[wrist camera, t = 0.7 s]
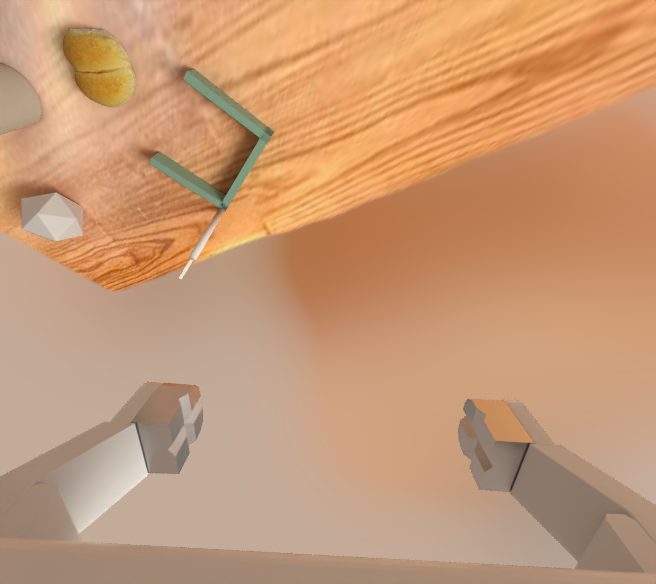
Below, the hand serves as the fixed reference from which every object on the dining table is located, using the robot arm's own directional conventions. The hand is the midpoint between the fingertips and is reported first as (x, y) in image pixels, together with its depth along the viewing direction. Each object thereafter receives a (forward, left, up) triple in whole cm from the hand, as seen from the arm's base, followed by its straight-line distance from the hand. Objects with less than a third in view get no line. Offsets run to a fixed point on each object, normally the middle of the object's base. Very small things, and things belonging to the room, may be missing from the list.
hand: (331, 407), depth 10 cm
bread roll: (+16, -28, -50) cm, 59 cm away
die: (+43, -28, -50) cm, 71 cm away
